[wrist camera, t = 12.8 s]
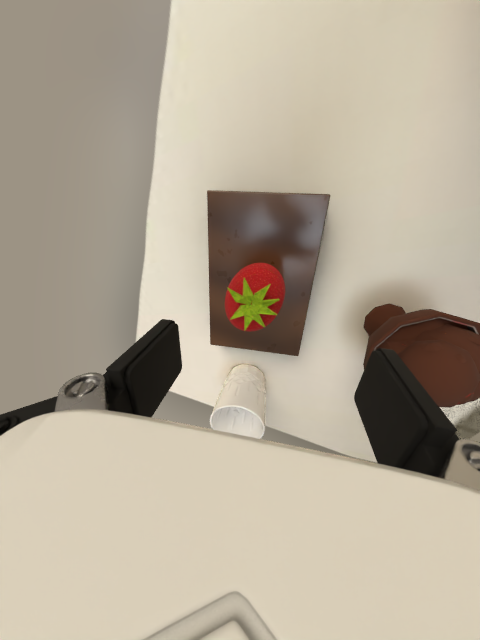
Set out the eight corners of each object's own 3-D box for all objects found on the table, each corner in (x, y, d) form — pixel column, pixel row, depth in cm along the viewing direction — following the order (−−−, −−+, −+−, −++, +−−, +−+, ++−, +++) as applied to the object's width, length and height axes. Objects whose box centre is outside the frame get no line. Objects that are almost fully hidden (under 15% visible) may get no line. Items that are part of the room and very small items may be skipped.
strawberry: (226, 299, 29) (202, 336, 20) (250, 245, 25) (233, 260, 16) (266, 317, 29) (260, 362, 20) (295, 266, 25) (302, 293, 17)
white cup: (240, 399, 42) (229, 449, 33) (217, 370, 39) (199, 414, 31) (276, 387, 39) (275, 438, 30) (254, 354, 37) (245, 398, 28)
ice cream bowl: (340, 353, 34) (378, 443, 20) (350, 284, 29) (408, 342, 16) (416, 356, 32) (513, 457, 19) (441, 282, 27) (594, 347, 14)
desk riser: (216, 193, 27) (207, 190, 24) (323, 197, 25) (330, 194, 22) (217, 331, 36) (210, 344, 32) (296, 341, 34) (298, 356, 31)
